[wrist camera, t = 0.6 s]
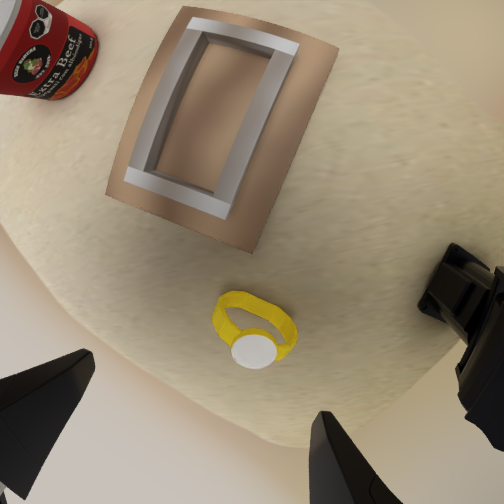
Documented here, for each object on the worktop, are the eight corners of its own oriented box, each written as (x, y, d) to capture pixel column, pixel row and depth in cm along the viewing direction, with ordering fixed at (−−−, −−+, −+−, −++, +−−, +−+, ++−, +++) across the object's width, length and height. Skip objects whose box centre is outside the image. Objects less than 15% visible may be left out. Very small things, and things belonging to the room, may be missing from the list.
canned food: (60, 116, 17) (-37, 111, 7) (32, 77, 16) (-47, 66, 5) (115, 47, 15) (27, 0, 5) (79, 17, 14) (6, -19, 3)
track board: (336, 52, 15) (346, 36, 12) (253, 250, 20) (250, 264, 17) (185, 10, 14) (175, -7, 11) (110, 193, 19) (90, 198, 16)
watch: (298, 304, 21) (311, 352, 16) (281, 330, 22) (288, 381, 16) (227, 274, 20) (218, 318, 15) (213, 303, 21) (201, 352, 16)
